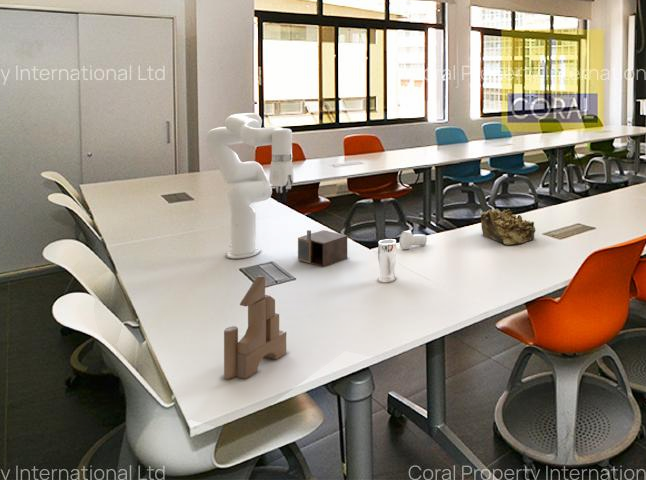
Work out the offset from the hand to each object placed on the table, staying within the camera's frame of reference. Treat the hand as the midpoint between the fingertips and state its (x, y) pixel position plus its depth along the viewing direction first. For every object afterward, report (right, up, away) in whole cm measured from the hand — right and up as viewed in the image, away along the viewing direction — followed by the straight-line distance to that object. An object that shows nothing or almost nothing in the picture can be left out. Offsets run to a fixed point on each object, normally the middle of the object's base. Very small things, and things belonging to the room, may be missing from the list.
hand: (282, 201), depth 222 cm
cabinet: (+14, -27, +9) cm, 32 cm away
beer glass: (+48, -28, -13) cm, 57 cm away
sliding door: (+7, -27, +5) cm, 28 cm away
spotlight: (+48, -27, +25) cm, 61 cm away
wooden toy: (+31, -29, -75) cm, 86 cm away
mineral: (+91, -27, +42) cm, 104 cm away
